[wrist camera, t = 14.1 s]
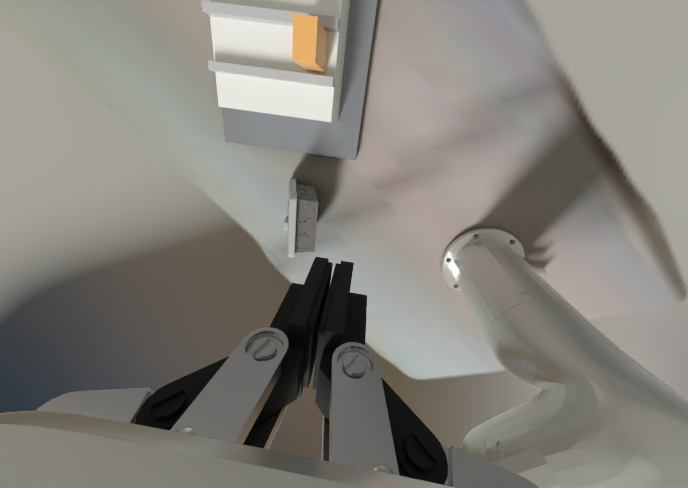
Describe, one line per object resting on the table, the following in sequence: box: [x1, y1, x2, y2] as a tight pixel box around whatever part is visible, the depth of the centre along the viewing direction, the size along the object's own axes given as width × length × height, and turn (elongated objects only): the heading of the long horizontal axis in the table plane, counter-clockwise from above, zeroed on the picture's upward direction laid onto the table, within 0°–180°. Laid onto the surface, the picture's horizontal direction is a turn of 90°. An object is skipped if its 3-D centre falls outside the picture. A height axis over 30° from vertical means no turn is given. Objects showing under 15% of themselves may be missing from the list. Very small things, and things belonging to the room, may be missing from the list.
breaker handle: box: [292, 14, 328, 72], centre depth 22 cm, size 2×3×5 cm, turn 173°
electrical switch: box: [284, 178, 318, 257], centre depth 37 cm, size 9×5×9 cm, turn 173°
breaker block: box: [201, 0, 378, 160], centre depth 28 cm, size 19×21×9 cm
